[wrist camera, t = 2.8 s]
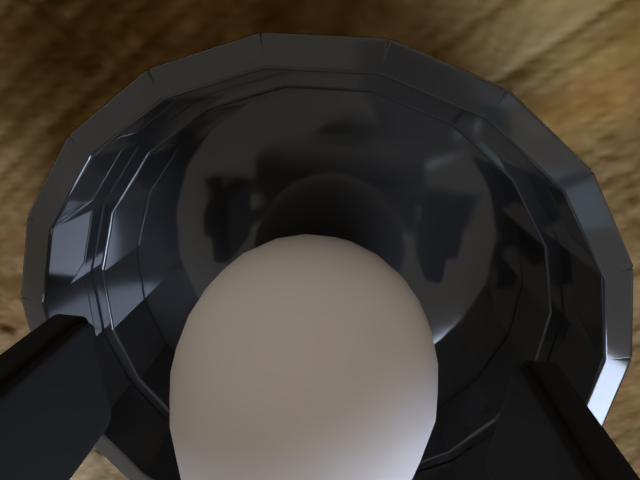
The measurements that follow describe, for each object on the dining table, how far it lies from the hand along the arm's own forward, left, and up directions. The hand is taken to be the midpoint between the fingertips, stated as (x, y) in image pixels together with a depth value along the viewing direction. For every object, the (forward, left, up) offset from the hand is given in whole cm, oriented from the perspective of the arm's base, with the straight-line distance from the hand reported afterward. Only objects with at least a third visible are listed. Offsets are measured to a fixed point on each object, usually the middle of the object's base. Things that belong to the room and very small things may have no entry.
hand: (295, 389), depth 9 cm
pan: (0, 0, -5) cm, 5 cm away
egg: (0, 0, -5) cm, 5 cm away
